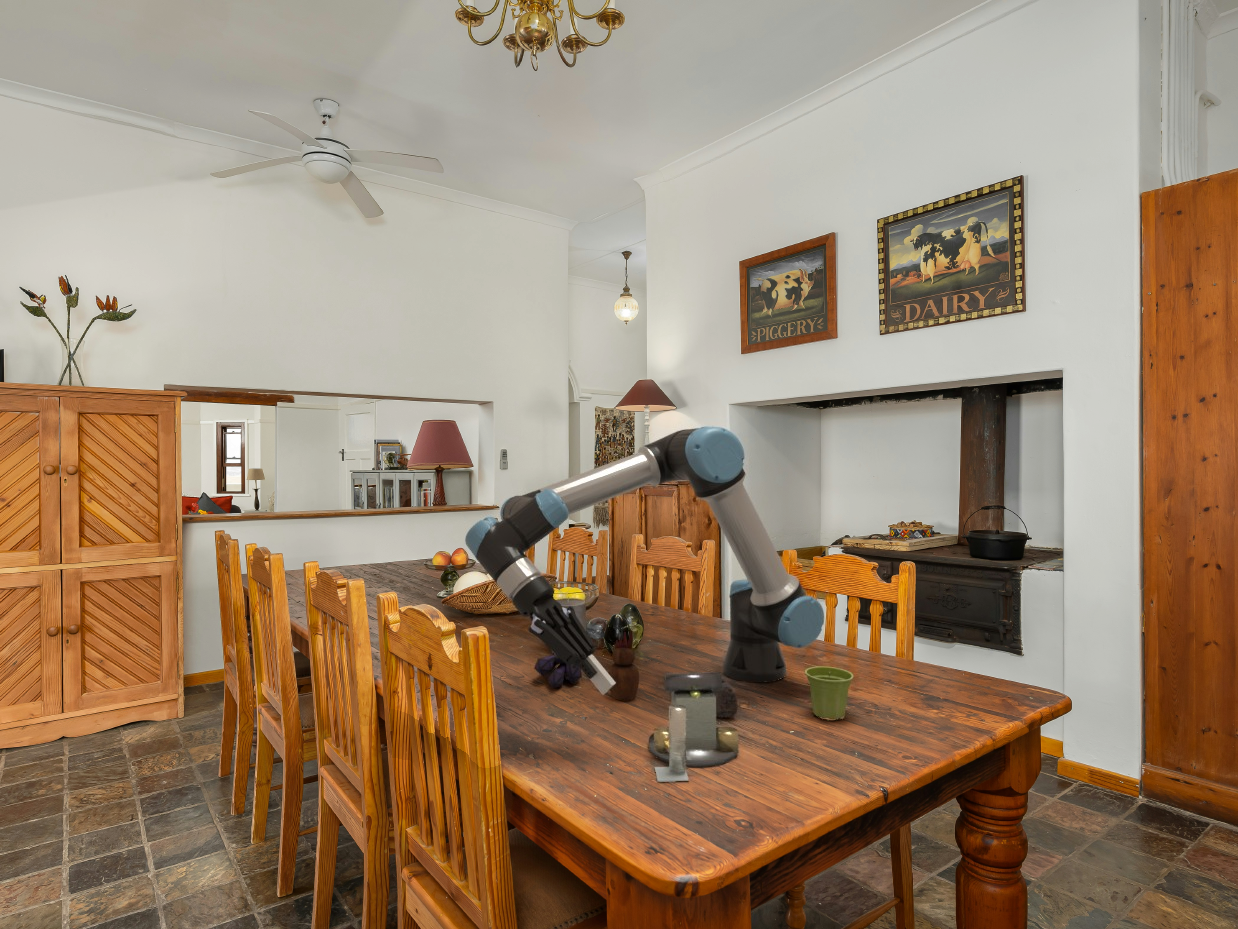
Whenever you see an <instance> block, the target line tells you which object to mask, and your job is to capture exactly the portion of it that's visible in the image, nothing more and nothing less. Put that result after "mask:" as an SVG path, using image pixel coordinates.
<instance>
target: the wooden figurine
mask: <svg viewBox="0 0 1238 929" xmlns="http://www.w3.org/2000/svg"><path fill="white" fill-rule="evenodd" d="M628 636H629V637H628V638H627V633H626V631H624V632H623V639H622V636H619V641H618V639H616V641H615V645H614V648H613V649H612V655H611V656H612V662H613V663H612V664H611V665H610V667H609V669H608V671H607V673H608V674H609V675H610V676H611V678H612V679H613V680H614V681H615V682H616V683H615V684H614V685H613V686H612V687H611V688H610V689H609V690H608V691H609V692H610V695H611V696H612V697H613V698H614V699H616V700H618V701H622V700H626V701H630V700H633V699H634V698H635V697H636V696H637V694H638V693H637V692H638V689H639V684H640V672H639V668H638V666H637V665H635V664H633V663H634V662H635V658H636V657H635V650H634V649H633V629H631V630H630V633H629V635H628Z"/></svg>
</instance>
